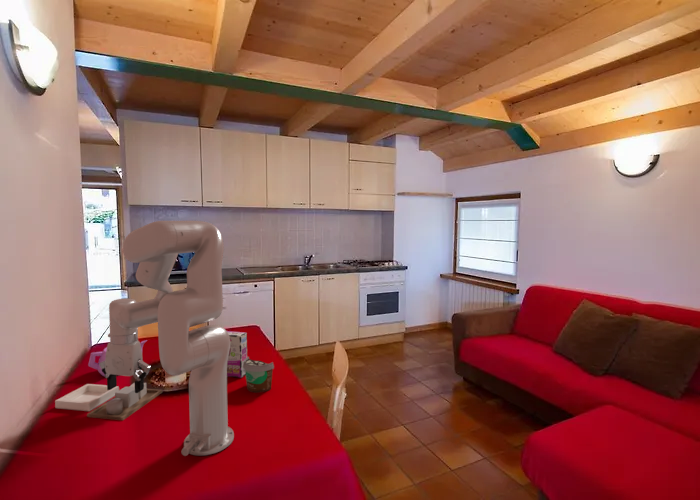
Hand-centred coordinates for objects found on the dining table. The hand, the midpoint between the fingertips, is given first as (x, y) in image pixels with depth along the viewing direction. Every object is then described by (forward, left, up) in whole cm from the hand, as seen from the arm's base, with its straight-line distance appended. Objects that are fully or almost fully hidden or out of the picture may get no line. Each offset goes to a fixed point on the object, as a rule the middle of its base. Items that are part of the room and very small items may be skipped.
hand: (125, 389), depth 118 cm
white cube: (+5, 0, -5) cm, 7 cm away
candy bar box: (+28, -23, -5) cm, 36 cm away
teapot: (+24, +22, -5) cm, 33 cm away
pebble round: (-6, -1, -4) cm, 8 cm away
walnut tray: (0, -1, -5) cm, 5 cm away
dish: (0, +13, -5) cm, 14 cm away
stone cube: (0, -1, -5) cm, 5 cm away
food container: (+17, -37, -5) cm, 41 cm away
